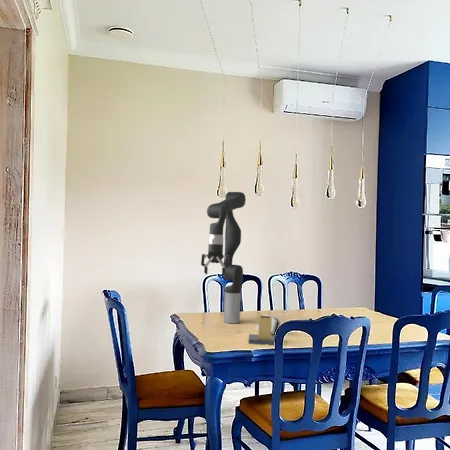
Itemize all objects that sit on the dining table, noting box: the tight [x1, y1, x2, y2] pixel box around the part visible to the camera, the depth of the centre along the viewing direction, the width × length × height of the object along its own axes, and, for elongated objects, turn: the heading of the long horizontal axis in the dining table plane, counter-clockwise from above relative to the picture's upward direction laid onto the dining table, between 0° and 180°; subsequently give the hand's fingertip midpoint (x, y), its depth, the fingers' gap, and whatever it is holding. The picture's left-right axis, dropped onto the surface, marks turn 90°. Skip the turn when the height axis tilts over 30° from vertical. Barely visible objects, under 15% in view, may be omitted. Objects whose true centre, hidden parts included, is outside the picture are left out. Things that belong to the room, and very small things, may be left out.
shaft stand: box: [248, 333, 276, 346], centre depth 231 cm, size 11×15×7 cm
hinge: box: [254, 314, 282, 336], centre depth 253 cm, size 17×5×10 cm, turn 23°
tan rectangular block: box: [257, 315, 272, 339], centre depth 231 cm, size 6×6×10 cm
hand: (214, 274), depth 245 cm, fingers open, 8 cm apart
